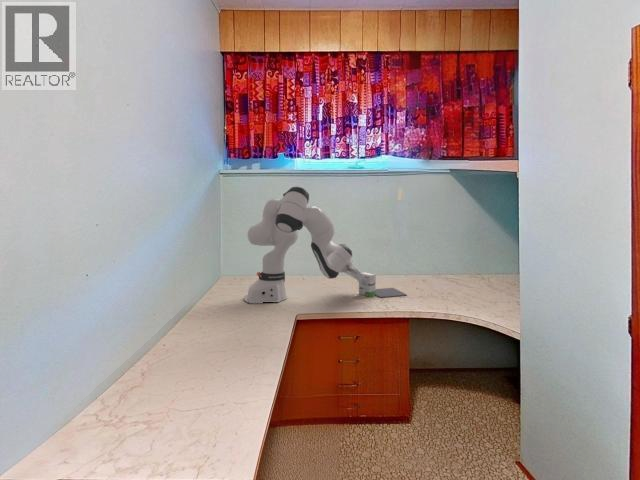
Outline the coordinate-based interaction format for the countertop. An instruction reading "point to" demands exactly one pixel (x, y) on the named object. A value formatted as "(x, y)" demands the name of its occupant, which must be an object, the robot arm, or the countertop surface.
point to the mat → (388, 293)
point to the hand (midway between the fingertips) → (361, 281)
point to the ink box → (367, 285)
